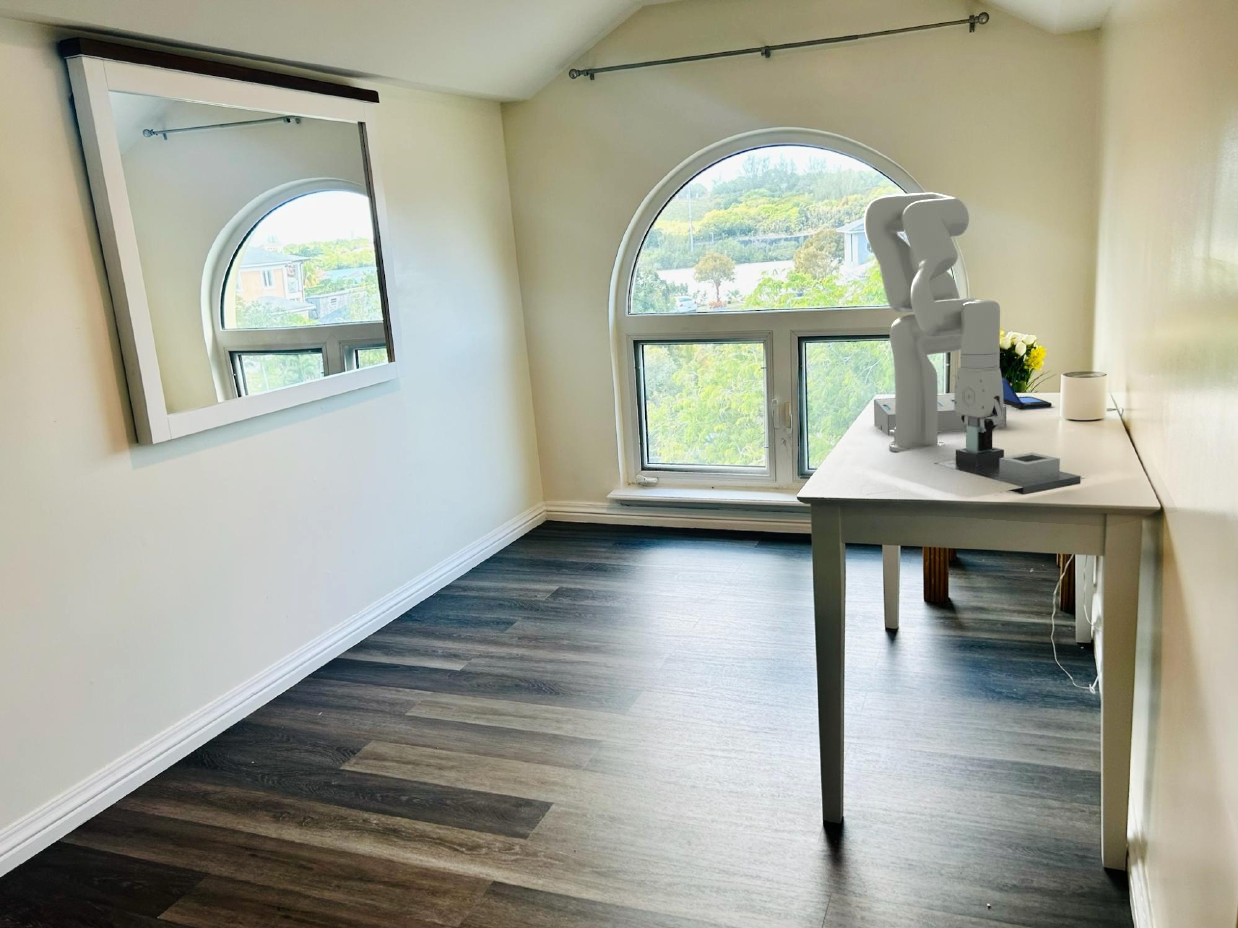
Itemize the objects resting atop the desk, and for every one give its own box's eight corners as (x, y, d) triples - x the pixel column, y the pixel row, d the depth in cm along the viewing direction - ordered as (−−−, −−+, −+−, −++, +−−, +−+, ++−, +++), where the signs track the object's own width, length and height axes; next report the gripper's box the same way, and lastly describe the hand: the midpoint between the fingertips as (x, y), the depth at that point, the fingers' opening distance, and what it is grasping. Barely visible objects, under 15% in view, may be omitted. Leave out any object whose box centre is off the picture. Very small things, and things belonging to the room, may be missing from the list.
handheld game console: (1053, 408, 266) (1054, 375, 264) (1005, 412, 266) (1005, 379, 264) (1029, 400, 281) (1029, 369, 279) (983, 404, 281) (983, 372, 279)
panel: (933, 470, 206) (933, 447, 205) (986, 461, 210) (986, 438, 209) (1023, 494, 182) (1023, 468, 181) (1080, 483, 186) (1081, 458, 185)
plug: (966, 462, 203) (966, 416, 201) (981, 460, 204) (982, 413, 202) (976, 465, 200) (976, 418, 198) (991, 462, 202) (992, 415, 199)
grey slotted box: (888, 436, 246) (887, 407, 244) (874, 427, 260) (874, 399, 258) (1006, 428, 245) (1006, 399, 243) (986, 419, 259) (986, 391, 257)
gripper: (938, 360, 204) (938, 444, 208) (993, 367, 189) (992, 457, 193) (967, 356, 206) (967, 440, 210) (1023, 362, 191) (1021, 452, 195)
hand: (979, 447), depth 202 cm, fingers closed on plug, 2 cm apart
